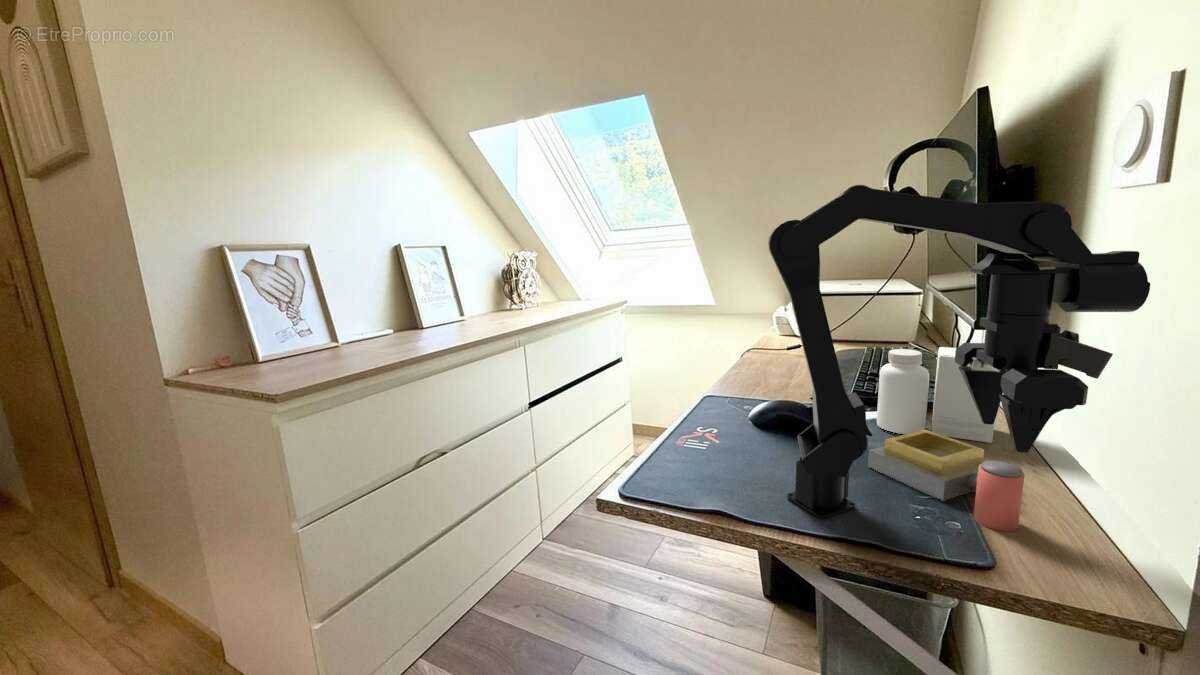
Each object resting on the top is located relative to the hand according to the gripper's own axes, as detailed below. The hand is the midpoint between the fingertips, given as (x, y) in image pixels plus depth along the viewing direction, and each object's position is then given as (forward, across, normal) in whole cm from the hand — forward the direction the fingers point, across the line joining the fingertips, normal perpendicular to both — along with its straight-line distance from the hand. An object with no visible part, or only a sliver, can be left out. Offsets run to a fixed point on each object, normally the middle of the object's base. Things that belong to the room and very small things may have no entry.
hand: (1003, 437), depth 62 cm
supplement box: (+12, +33, -7) cm, 35 cm away
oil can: (+11, 0, 0) cm, 11 cm away
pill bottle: (+12, +32, +3) cm, 34 cm away
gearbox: (+11, +11, +3) cm, 16 cm away
